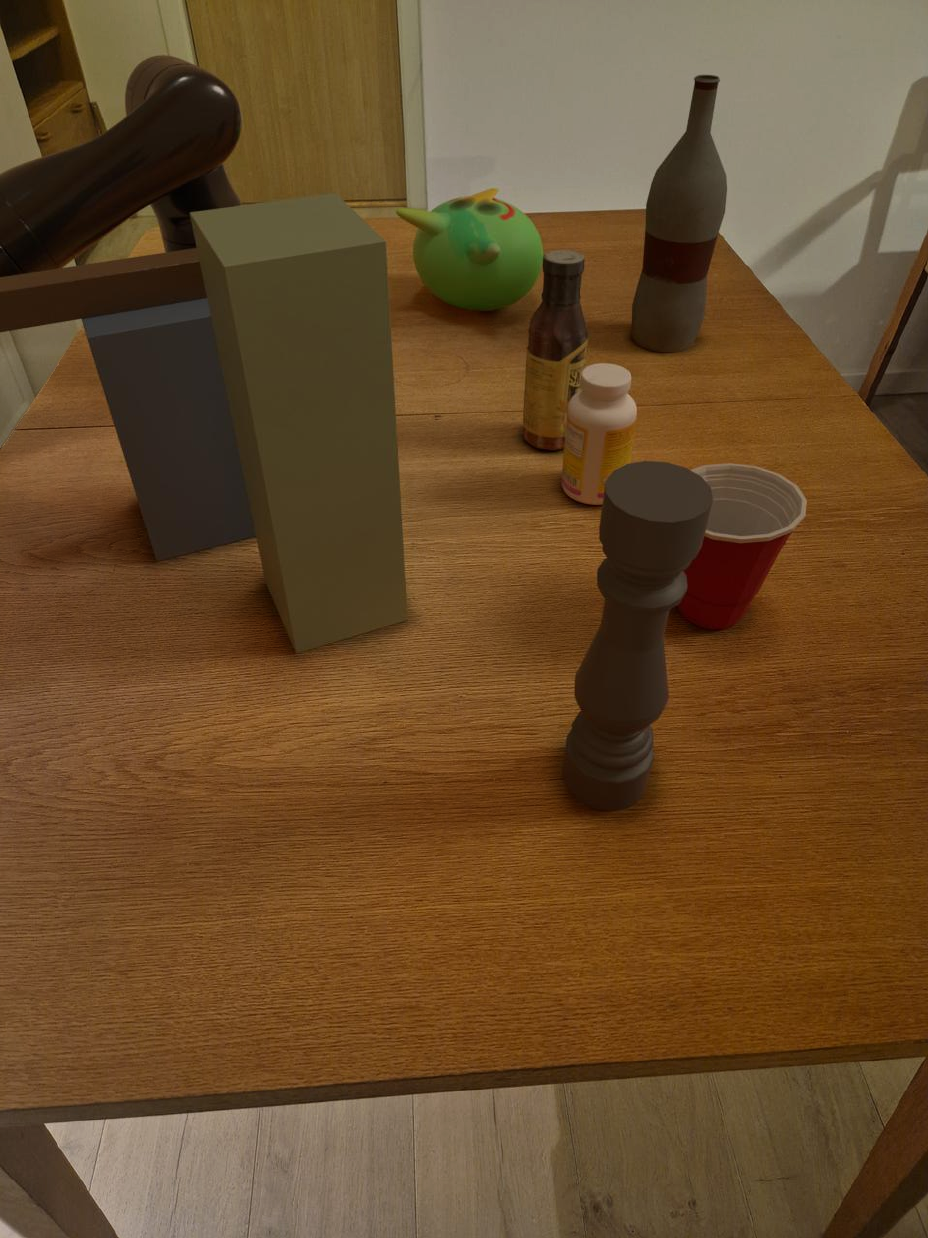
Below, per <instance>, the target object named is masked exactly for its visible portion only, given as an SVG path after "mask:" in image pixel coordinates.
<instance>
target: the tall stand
mask: <svg viewBox="0 0 928 1238" xmlns="http://www.w3.org/2000/svg"><path fill="white" fill-rule="evenodd" d="M190 217H191V222H192V227H193V232H194V237H195V242H196V247H197V251H198V256H199V261H200V266H201V271H202V276H203V281H204V285H205V290H206V295H207V300H208V305H209V310H210V315H211V320H212V324H213V329H214V334H215V339H216V344H217V349H218V354H219V358H220V363H221V368H222V373H223V378H224V383H225V388H226V393H227V397H228V402H229V407H230V412H231V417H232V422H233V427H234V431H235V436H236V441H237V446H238V451H239V456H240V461H241V466H242V470H243V475H244V480H245V485H246V490H247V495H248V500H249V504H250V509H251V514H252V519H253V524H254V529H255V534H256V536H255V539H256V543H257V548H258V554H259V558H260V562H261V566H262V567H261V568H262V572H263V577H264V581H265V585H266V587H267V589H268V591H269V594H270V597H271V599H272V601H273V603H274V605H275V607H276V610H277V612H278V615H279V617H280V619H281V622H282V624H283V627H284V629H285V632H286V634H287V635H288V638H289V640H290V643H291V646H292V647H293V650H294V652H295V654H300V653H303V652H306V651H307V652H308V651H310V650H313V649H317V648H320V647H323V646H327V645H329V644H333V643H337V642H339V641H344V640H347V639H350V638H353V637H356V636H360V635H363V634H367V633H370V632H373V631H377V630H380V629H383V628H386V627H389V626H393V625H396V624H399V623H403V622H407V621H408V620H409V613H408V599H407V583H406V581H407V580H406V563H405V562H406V561H405V547H404V545H405V544H404V531H403V530H404V529H403V513H402V495H401V494H402V493H401V479H400V462H399V461H400V459H399V444H398V426H397V409H396V408H397V407H396V392H395V374H394V358H393V357H394V355H393V341H392V340H393V338H392V325H391V307H390V306H391V305H390V304H391V303H390V289H389V288H390V287H389V272H388V255H387V253H388V252H387V241H386V239H384V238H383V237H382V236H381V235H380V234H379V232H377V231H376V230H375V229H374V227H372V226H371V225H370V224H369V223H368V222H367V221H365V220H364V218H363V217H361V216H360V215H359V214H358V213H357V212H356V211H355V210H354V209H353V208H352V207H351V206H350V205H349V204H348V203H347V202H346V201H344V199H342V198H341V196H339V194H338V193H336V192H328V193H321V194H315V195H314V194H313V195H307V196H301V197H292V198H286V199H279V200H272V201H271V200H270V201H264V202H263V201H262V202H257V203H250V204H242V205H241V206H234V207H227V208H219V209H212V210H205V211H197V212H190Z"/></svg>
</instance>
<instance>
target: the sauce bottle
mask: <svg viewBox="0 0 928 1238" xmlns="http://www.w3.org/2000/svg"><path fill="white" fill-rule="evenodd" d="M585 258H586V257H585V255H584V254H583V253H581V252H579V251H576V250H573V249H563V248H561V249H553V250H549V251H547V252H546V253H543V263H542V272H543V281H542V282H543V283H542V284H543V285H542V292H541V300H542V301H541V302H540V304H539V306H538V307H537V308H536V310H535V311H534V312H533V315H532V316H531V318H530V320H529V326H528V343H527V346H526V358H525V373H524V376H525V377H524V393H523V412H522V414H523V415H522V424H523V428H522V433H523V438H524V439H525V441H526V442H527V443H528V444H529V445H530V446H532V447H534V448H536V449H541V450H547V451H558V450H562V449H564V444H565V433H566V422H567V411H568V404H569V402H570V400H571V398H572V397H573V396H574V395H575V394H576V393H577V392H579V391H580V390H581V387H580V380H581V373H582V371H583V369H584V368H586V366H587V365H586V363H587V356H588V355H587V353H588V345H589V332H588V329H587V325H586V322H585V317H584V313H583V308H582V305H581V287H582V277H583V274H584V271H585Z"/></svg>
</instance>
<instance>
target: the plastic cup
mask: <svg viewBox="0 0 928 1238" xmlns="http://www.w3.org/2000/svg"><path fill="white" fill-rule="evenodd" d="M690 470H691V471H692V472H694V473H696V474H698V475H699V476H701V477H702V478H703V479H704V480H705V481H706V483H707V484H708V485H709V486H710V487H711V490H712V496H713V502H712V506H711V511H710V515H709V519H708V523H707V527H706V531H705V535H704V539H703V543H702V547H701V549H700V551H699V552H698V554H697V556H696V558H695V559H693V560H692V561H691V563H690V565H689V567H688V568H687V569H685V570H684V571H683V572H684V573H685V575H686V578H687V591H686V593H685V595H684V596H683V598H682V600H681V602H680V603H679V604H678V605H677V609H678V612H679V614H680V615H681V616H682V617H683V618H684V619H685V620H686V621H688V622H689V623H691V624H693V625H695V626H697V627H700V628H703V629H708V630H726V629H728V628H731V627H734V626H735V625H736V624H737V623H738V622H739V621H740V620H741V619H742V618H743V617H744V616H745V614H747V613H746V612H747V611H748V609H749V607H750V605H751V604H752V602H753V600H754V598H755V596H756V595H757V594H758V593H759V591H760V590H761V587H762V586H763V584H764V582H765V581H766V578H767V577H768V575H769V574H770V571H771V569H772V567H773V566H774V563H775V562H776V560H777V558H778V556H779V554H780V553H781V551H782V549H783V548H784V547H785V545H786V543H787V542H788V539H789V537H790V536H791V535H792V534H793V531H794V530H795V528H797V526H799V525H800V523H802V521H804V519H805V517H806V515H807V505H808V499H807V498H806V496H805V495H804V494H803V492H802V490H801V489H800V488H799V486H798V485H797V484H795V483H794V482H793V481H791V480H789V479H788V478H787V477H785V476H783V475H782V474H781V473H778V472H775V471H771V470H769V469H766V468H762V467H760V466H757V465H748V464H740V463H732V462H727V463H714V464H704V465H701V466H698V467H695V468H692V469H690Z"/></svg>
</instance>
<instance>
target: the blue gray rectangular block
mask: <svg viewBox="0 0 928 1238" xmlns="http://www.w3.org/2000/svg"><path fill="white" fill-rule="evenodd" d="M81 323H82V326H83V329H84V333H85V336H86V340H87V342H88V346H89V350H90V352H91V357H92V358H93V361H94V366H95V368H96V371H97V374H98V377H99V381H100V384H101V387H102V391H103V394H104V397H105V400H106V404H107V407H108V410H109V413H110V416H111V420H112V422H113V423H112V424H113V425H114V426H113V427H114V430H115V432H116V435H117V439H118V442H119V446H120V448H121V451H122V453H123V454H122V455H123V459H124V462H125V464H126V468H127V470H128V474H129V477H130V481H131V483H132V487H133V490H134V493H135V496H136V499H137V503H138V505H139V509H140V512H141V515H142V519H143V522H144V526H145V528H146V532H147V534H148V537H149V542H150V544H151V547H152V550H153V553H154V557H155V560H156V562H160V561H164V560H169V559H172V558H177V557H180V556H185V555H188V554H191V553H192V554H193V553H196V552H199V551H200V552H201V551H204V550H208V549H213V548H216V547H219V546H220V547H221V546H223V545H227V544H232V543H235V542H239V541H242V540H243V541H244V540H247V539H251V538H256V534H255V529H254V524H253V519H252V514H251V509H250V504H249V500H248V495H247V490H246V485H245V480H244V475H243V470H242V466H241V461H240V456H239V451H238V446H237V441H236V436H235V431H234V427H233V422H232V417H231V412H230V407H229V402H228V397H227V393H226V388H225V383H224V378H223V373H222V368H221V363H220V358H219V354H218V349H217V344H216V339H215V334H214V329H213V324H212V320H211V315H210V310H209V305H208V300H207V298H203V299H197V300H191V301H185V302H179V303H173V304H167V305H161V306H155V307H149V308H143V309H137V310H131V311H125V312H119V313H113V314H107V315H101V316H95V317H89V318H83V319H81Z"/></svg>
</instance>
